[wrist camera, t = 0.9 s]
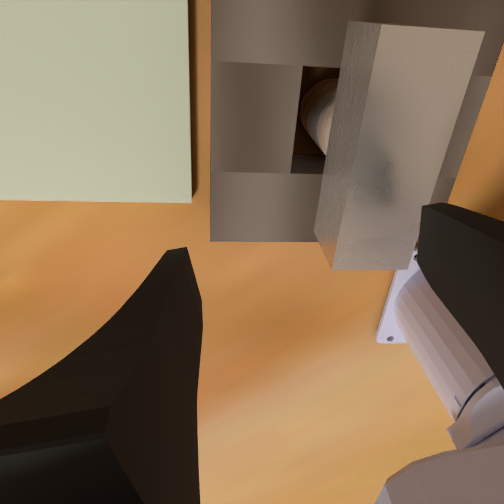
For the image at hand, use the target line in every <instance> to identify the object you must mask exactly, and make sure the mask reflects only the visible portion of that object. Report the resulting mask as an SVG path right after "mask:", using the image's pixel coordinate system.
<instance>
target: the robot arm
mask: <svg viewBox="0 0 504 504" xmlns="http://www.w3.org/2000/svg"><path fill="white" fill-rule="evenodd" d="M416 254H417V257H414V256H415V255H416ZM202 331H203V319H202V300H201V296H200V292H199V289H198V285H197V282H196V278H195V275H194V271H193V267H192V264H191V260H190V257H189V253H188V250H187V247H184V248H178V249H172V250H167V251H166V252H165V254H164V255H163V256H162V258H161V259H160V260H159V262H158V263H157V264H156V266H155V267H154V268H153V270H152V271H151V272H150V274H149V275H148V276H147V278H146V279H145V280H144V281H143V283H142V284H141V285H140V287H139V288H138V289H137V290H136V291H135V292H134V294H133V295H132V296H131V297H130V298H129V299H128V300H127V301H126V303H125V304H124V305H123V306H122V307H121V308H120V309H119V310H118V312H117V313H116V314H115V315H114V316H113V317H112V318H111V319H110V320H109V321H108V322H106V323H105V324H104V325H103V326H102V327H101V328H100V329H99V330H98V331H97V332H96V333H95V334H93V335H92V336H91V337H90V338H89V339H87V340H86V341H85V342H84V343H82V344H81V345H80V346H79V347H77V348H76V349H75V350H74V351H72V352H71V353H70V354H69V355H67V356H66V357H65V358H64V359H62V360H61V361H59V362H58V363H57V364H55V365H54V366H52V367H51V368H49V369H48V370H47V371H45V372H44V373H42V374H41V375H39V376H38V377H36V378H35V379H33V380H32V381H30V382H28V383H27V384H25V385H24V386H22V387H20V388H19V389H17V390H15V391H14V392H12V393H10V394H9V395H7V396H5V397H3V398H2V399H0V504H200V489H199V468H198V438H197V389H198V378H199V366H200V355H201V344H202ZM389 336H390V337H389ZM375 338H376V340H377V342H378V343H408V345H409V347H410V348H411V350H412V352H413V353H414V355H415V357H416V359H417V360H418V362H419V364H420V365H421V367H422V369H423V370H424V372H425V374H426V376H427V377H428V379H429V381H430V382H431V384H432V386H433V387H434V389H435V391H436V392H437V394H438V396H439V398H440V399H441V401H442V403H443V404H444V406H445V408H446V409H447V411H448V413H449V415H450V416H451V418H452V420H453V421H454V424H453V425H451V426H450V427H448V428H447V432H448V434H449V436H450V437H451V439H452V441H453V443H454V445H455V446H456V448H457V450H451V451H445V452H442V453H439V454H435V455H432V456H429V457H426V458H423V459H420V460H416V461H413V462H411V463H410V464H408V465H407V466H405V467H404V468H402V469H401V470H399V471H398V472H396V473H395V474H393V475H392V476H390V477H389V478H388V479H387V481H386V483H385V485H384V486H383V488H382V490H381V492H380V494H379V496H378V498H377V500H376V502H375V504H504V222H503V221H500V220H497V219H494V218H491V217H488V216H485V215H483V214H480V213H477V212H474V211H471V210H468V209H465V208H462V207H458V206H455V205H452V204H448V203H443V202H440V203H435V204H429V205H423V206H422V209H421V220H420V230H419V241H418V248H415V249H414V252H413V255H412V258H411V261H410V264H409V267H408V270H395V273H394V276H393V280H392V283H391V286H390V289H389V293H388V296H387V299H386V302H385V306H384V309H383V312H382V315H381V319H380V322H379V325H378V328H377V332H376V335H375Z"/></svg>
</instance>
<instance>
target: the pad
mask: <svg viewBox="0 0 504 504" xmlns="http://www.w3.org/2000/svg"><path fill="white" fill-rule="evenodd" d="M0 200H36V201H98V202H161V203H192V167H191V119H190V70H189V22H188V0H0Z"/></svg>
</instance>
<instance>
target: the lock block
mask: <svg viewBox="0 0 504 504" xmlns="http://www.w3.org/2000/svg"><path fill="white" fill-rule="evenodd" d="M348 21H359V22H374V23H388V24H402V25H416V26H430V27H442V28H453V29H463V30H474V31H485V34H484V37H483V40H482V43H481V46H480V49H479V52H478V56H477V59H476V62H475V65H474V68H473V71H472V74H471V77H470V80H469V83H468V86H467V89H466V92H465V95H464V98H463V101H462V105H461V108H460V111H459V114H458V117H457V120H456V123H455V126H454V129H453V132H452V135H451V138H450V141H449V144H448V147H447V150H446V154H445V157H444V160H443V163H442V166H441V169H440V172H439V175H438V178H437V181H436V184H435V187H434V190H433V193H432V196H431V200H430V203H429V204H435V203H440V202H443V203H447V202H448V199H449V196H450V193H451V190H452V188H453V185H454V182H455V179H456V176H457V173H458V171H459V168H460V165H461V162H462V159H463V156H464V154H465V151H466V148H467V145H468V142H469V139H470V137H471V134H472V131H473V128H474V125H475V122H476V120H477V117H478V114H479V111H480V108H481V105H482V103H483V100H484V97H485V94H486V91H487V88H488V86H489V83H490V80H491V77H492V74H493V71H494V69H495V66H496V63H497V60H498V57H499V54H500V51H501V49H502V46H503V43H504V0H211V155H210V241H236V242H318V239H317V237H316V235H315V233H314V226H315V220H316V214H317V208H318V202H319V196H320V190H321V184H322V177H323V171H324V165H325V159H326V155H318V154H293V146H294V137H295V129H296V120H297V112H298V103H299V95H300V86H301V78H302V69H303V66H315V67H332V68H341V62H342V55H343V49H344V43H345V37H346V31H347V25H348ZM418 241H419V236H418V239H417V242H418Z"/></svg>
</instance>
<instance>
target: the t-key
mask: <svg viewBox="0 0 504 504" xmlns="http://www.w3.org/2000/svg"><path fill="white" fill-rule="evenodd" d="M484 34H485V31H474V30H463V29H453V28H442V27H430V26H416V25H402V24H388V23H374V22H359V21H348V25H347V31H346V37H345V43H344V49H343V55H342V62H341V68H340V74H339V79H335V78H332V79H325V80H322V81H320V82H318V83H316V84H315V85H314V86H312V87H311V88H310V89H309V91H308V92H307V93H306V95H305V96H304V98H303V101H302V104H301V109H300V117H301V122H302V125H303V127H304V128H305V130H306V131H307V132H308V134H309V135H310V136H311V137H312V139H313V140H314V141H315V143H316V144H317V145H318V146H319V148H320V149H321V150H322V152H323V153H324V154H325V155H326V159H325V165H324V171H323V177H322V184H321V190H320V196H319V202H318V208H317V214H316V220H315V226H314V233H315V235H316V237H317V239H318V242H319V244H320V246H321V248H322V250H323V252H324V254H325V257H326V259H327V261H328V263H329V265H330V267H331V269H332V270H408V267H409V264H410V261H411V258H412V255H413V252H414V249H415V245H416V242H417V239H418V236H419V230H420V220H421V209H422V206H423V205H429V203H430V200H431V196H432V193H433V190H434V187H435V184H436V181H437V178H438V175H439V172H440V169H441V166H442V163H443V160H444V157H445V154H446V150H447V147H448V144H449V141H450V138H451V135H452V132H453V129H454V126H455V123H456V120H457V117H458V114H459V111H460V108H461V105H462V101H463V98H464V95H465V92H466V89H467V86H468V83H469V80H470V77H471V74H472V71H473V68H474V65H475V62H476V59H477V56H478V52H479V49H480V46H481V43H482V40H483V37H484Z"/></svg>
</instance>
